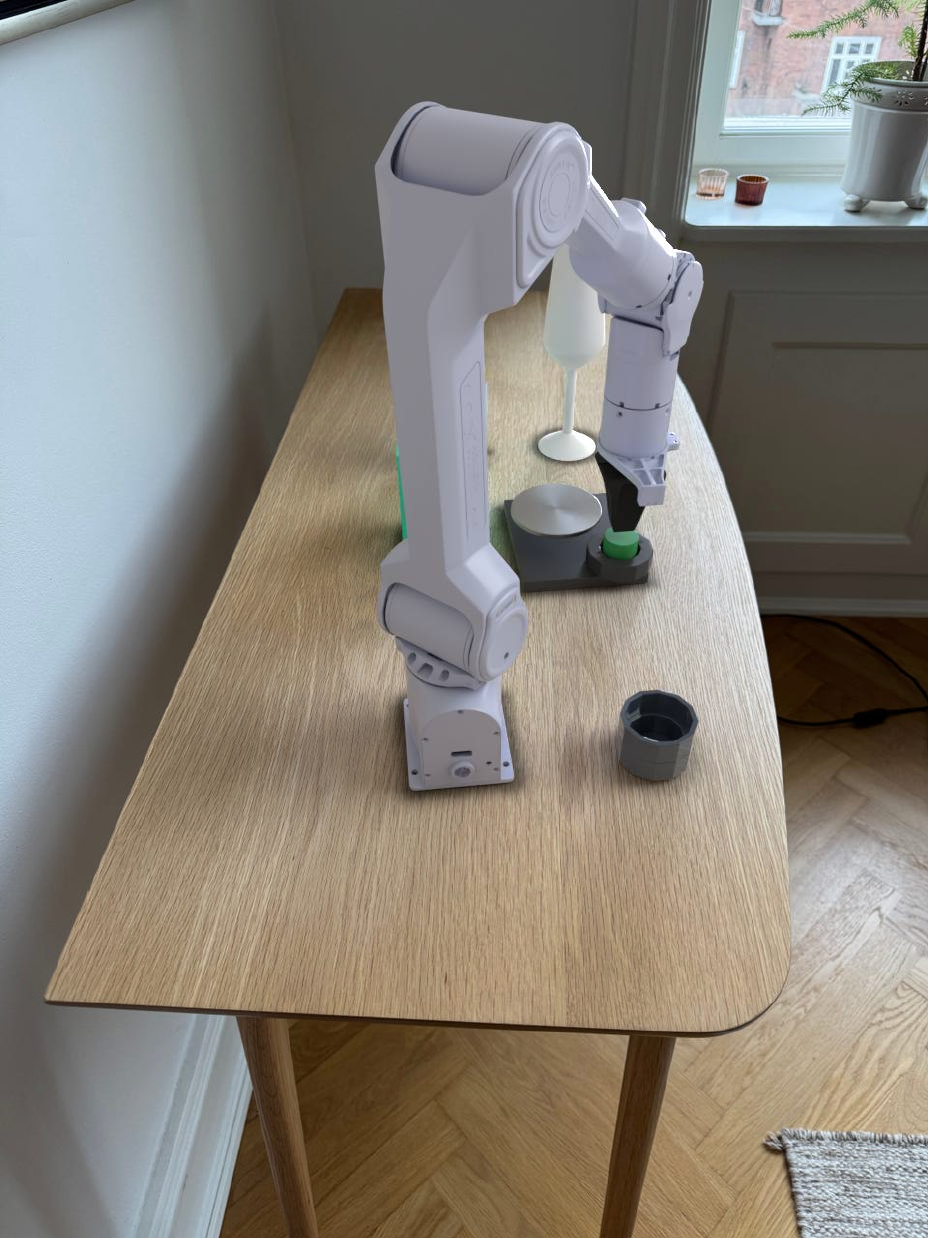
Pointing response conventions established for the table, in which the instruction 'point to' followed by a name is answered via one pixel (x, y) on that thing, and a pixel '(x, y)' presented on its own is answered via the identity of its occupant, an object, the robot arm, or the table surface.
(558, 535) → the scale pan
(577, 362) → the champagne flute
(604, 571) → the scale
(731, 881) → the table surface
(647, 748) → the faceted grey cup
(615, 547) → the tare button
